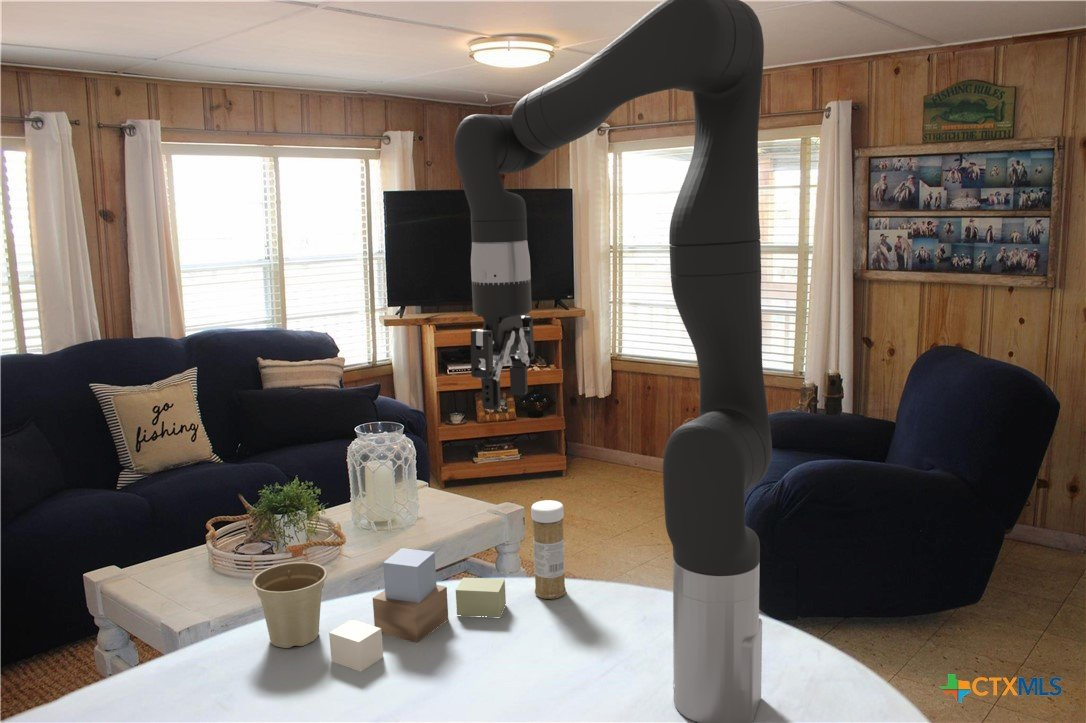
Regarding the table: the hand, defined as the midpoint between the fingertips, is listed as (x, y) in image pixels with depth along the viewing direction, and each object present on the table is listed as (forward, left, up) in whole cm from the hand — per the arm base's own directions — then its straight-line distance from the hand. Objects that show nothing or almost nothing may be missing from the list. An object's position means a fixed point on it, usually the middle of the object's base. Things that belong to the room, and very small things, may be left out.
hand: (506, 401), depth 117 cm
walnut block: (+12, +7, -30) cm, 33 cm away
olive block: (+5, 0, -30) cm, 31 cm away
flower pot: (+25, +15, -30) cm, 42 cm away
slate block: (+12, +7, -25) cm, 29 cm away
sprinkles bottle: (-2, -8, -30) cm, 31 cm away
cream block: (+14, +17, -30) cm, 37 cm away
